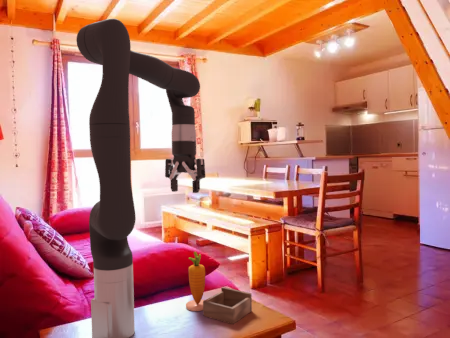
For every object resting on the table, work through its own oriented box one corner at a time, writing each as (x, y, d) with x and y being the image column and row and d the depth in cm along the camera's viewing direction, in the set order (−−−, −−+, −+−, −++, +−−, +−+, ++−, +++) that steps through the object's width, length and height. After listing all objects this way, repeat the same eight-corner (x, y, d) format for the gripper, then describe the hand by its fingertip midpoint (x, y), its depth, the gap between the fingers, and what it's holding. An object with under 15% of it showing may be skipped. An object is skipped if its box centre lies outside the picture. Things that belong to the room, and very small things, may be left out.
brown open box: (233, 324, 97) (232, 305, 97) (203, 315, 102) (203, 297, 102) (251, 310, 105) (251, 293, 105) (223, 303, 110) (222, 286, 110)
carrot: (203, 308, 106) (202, 255, 105) (186, 306, 107) (185, 254, 106) (208, 301, 111) (207, 250, 110) (191, 300, 112) (190, 250, 111)
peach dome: (200, 313, 104) (200, 311, 104) (180, 307, 108) (180, 305, 108) (214, 304, 110) (214, 302, 110) (196, 299, 114) (196, 297, 114)
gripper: (158, 140, 118) (159, 192, 118) (194, 138, 110) (195, 194, 110) (174, 140, 124) (175, 190, 124) (209, 139, 116) (210, 191, 116)
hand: (185, 192), depth 117 cm, fingers open, 8 cm apart
